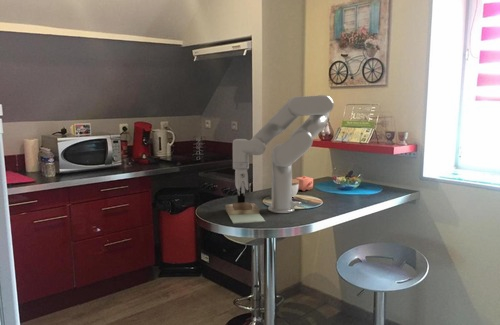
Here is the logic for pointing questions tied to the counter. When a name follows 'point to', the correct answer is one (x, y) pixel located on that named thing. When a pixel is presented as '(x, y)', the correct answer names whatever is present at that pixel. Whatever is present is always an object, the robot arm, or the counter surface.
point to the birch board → (231, 210)
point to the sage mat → (246, 218)
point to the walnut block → (242, 206)
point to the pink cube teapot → (305, 183)
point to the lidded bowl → (295, 187)
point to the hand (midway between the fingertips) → (241, 203)
